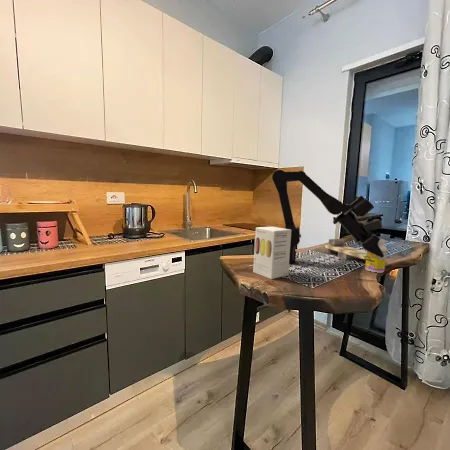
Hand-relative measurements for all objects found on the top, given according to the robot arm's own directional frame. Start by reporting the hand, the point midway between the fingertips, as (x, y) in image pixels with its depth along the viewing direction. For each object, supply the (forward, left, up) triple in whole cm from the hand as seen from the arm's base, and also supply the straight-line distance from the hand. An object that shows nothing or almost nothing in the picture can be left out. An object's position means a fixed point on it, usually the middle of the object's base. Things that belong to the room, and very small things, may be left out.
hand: (380, 254), depth 100 cm
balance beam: (+6, +20, -7) cm, 22 cm away
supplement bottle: (-1, +1, -7) cm, 7 cm away
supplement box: (-44, +7, -7) cm, 45 cm away
